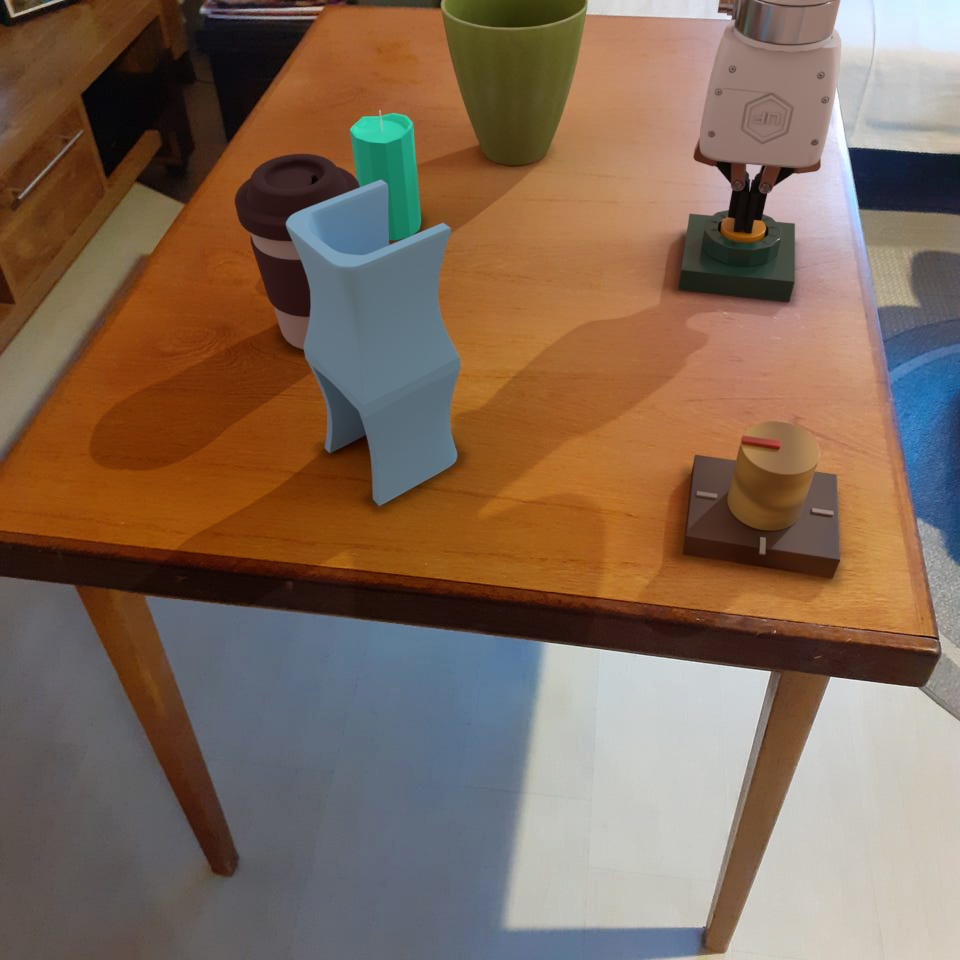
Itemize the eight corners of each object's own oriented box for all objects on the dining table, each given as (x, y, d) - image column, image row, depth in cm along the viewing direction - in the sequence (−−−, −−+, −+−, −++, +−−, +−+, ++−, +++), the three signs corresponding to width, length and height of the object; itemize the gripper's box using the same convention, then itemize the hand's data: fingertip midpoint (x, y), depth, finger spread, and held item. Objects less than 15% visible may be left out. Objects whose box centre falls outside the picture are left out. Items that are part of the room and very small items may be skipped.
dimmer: (830, 487, 67) (837, 466, 66) (833, 585, 61) (841, 565, 60) (691, 467, 69) (695, 447, 68) (681, 561, 63) (685, 541, 62)
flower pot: (423, 146, 106) (412, -2, 95) (524, 109, 112) (525, -35, 100) (502, 197, 98) (501, 41, 86) (607, 154, 103) (618, 2, 92)
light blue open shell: (465, 458, 71) (452, 227, 56) (379, 506, 67) (342, 274, 53) (407, 405, 75) (382, 178, 61) (324, 448, 72) (276, 218, 57)
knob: (801, 483, 65) (821, 423, 61) (800, 536, 62) (821, 476, 57) (729, 473, 66) (743, 412, 62) (724, 524, 63) (739, 464, 58)
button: (762, 233, 87) (766, 216, 85) (761, 256, 84) (765, 239, 83) (719, 228, 87) (722, 212, 86) (717, 251, 85) (720, 234, 83)
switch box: (790, 243, 90) (799, 206, 87) (789, 302, 83) (799, 264, 80) (686, 233, 92) (692, 196, 89) (677, 290, 85) (683, 252, 82)
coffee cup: (244, 339, 82) (202, 183, 71) (317, 284, 87) (289, 132, 76) (328, 377, 78) (298, 218, 67) (400, 318, 83) (383, 162, 72)
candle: (430, 214, 96) (421, 100, 87) (408, 244, 92) (397, 128, 83) (377, 206, 97) (363, 93, 88) (353, 235, 93) (336, 120, 84)
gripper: (684, 26, 70) (656, 238, 83) (890, 39, 67) (828, 256, 81) (691, -9, 75) (664, 196, 88) (884, 2, 72) (826, 211, 86)
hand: (742, 224), depth 84 cm, fingers closed
